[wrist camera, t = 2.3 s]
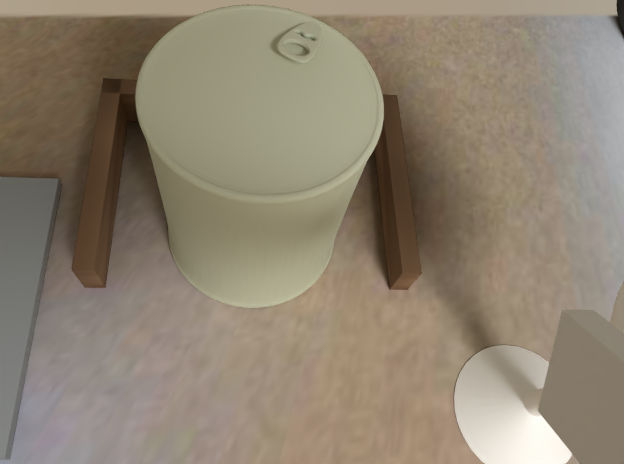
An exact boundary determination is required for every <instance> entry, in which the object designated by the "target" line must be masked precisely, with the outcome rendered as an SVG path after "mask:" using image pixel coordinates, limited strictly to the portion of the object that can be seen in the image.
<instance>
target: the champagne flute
mask: <svg viewBox="0 0 624 464" xmlns="http://www.w3.org/2000/svg"><path fill="white" fill-rule="evenodd" d="M611 324H612V325H613V326H615V327H616V328H617V329H619V330H620V331H621V332H623V333H624V282H623V284H622V286H621V288H620V290H619V292H618V294H617V298H616V301H615V304H614V308H613V312H612V317H611ZM548 366H549V363H548V362H547V361H546V360H544V359H543V358H542V357H540V356H539V355H537V354H535V353H533V352H531V351H529V350H527V349H524V348H521V347H518V346H510V345H499V346H492V347H489V348H486V349H483V350H482V351H480V352H478V353H477V354H475V355H474V356H473V357H472V358H471V359H470V360H468V361H467V362H466V364H465V365H464V367H463V369H462V370H461V372H460V374H459V377H458V379H457V382H456V387H455V393H454V407H455V414H456V418H457V423H458V425H459V428H460V430H461V433H462V435H463V437H464V439H465V440H466V442H467V444H468V445H469V447H470V449H471V450H472V451H473V452H474V453H475V454H476V456H477V457H478V458H479V459H480V460H481V461H482V462H484V463H485V464H566V463H567V461H568V460H569V459H570V457H571V455H572V453H571V452H570V450H569V449H568V448H567V447H566V445H565V444H564V443H563V442H562V440H561V439H560V438H559V437H558V435H557V434H556V433H555V432H554V430H553V429H552V428H551V427H550V425H549V424H548V423H547V422H546V421H545V419H544V418H543V417H542V416H541V414H540V413H539V412H538V407H539V403H540V399H541V395H542V391H543V387H544V383H545V379H546V375H547V370H548Z"/></svg>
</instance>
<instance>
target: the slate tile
mask: <svg viewBox="0 0 624 464" xmlns="http://www.w3.org/2000/svg"><path fill="white" fill-rule="evenodd" d="M61 186H62V184H61V182H60V180H59V179H54V178H24V177H0V460H6V459H10V456H11V450H12V445H13V440H14V435H15V429H16V424H17V419H18V413H19V408H20V403H21V398H22V392H23V387H24V382H25V376H26V371H27V366H28V360H29V355H30V350H31V345H32V339H33V334H34V329H35V323H36V318H37V313H38V307H39V302H40V297H41V292H42V286H43V281H44V276H45V270H46V265H47V260H48V255H49V249H50V244H51V239H52V233H53V228H54V223H55V217H56V212H57V207H58V202H59V196H60V191H61Z"/></svg>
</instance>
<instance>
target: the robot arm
mask: <svg viewBox="0 0 624 464" xmlns="http://www.w3.org/2000/svg"><path fill="white" fill-rule="evenodd" d="M617 13H618V18H619V21H620V24H621V27H622V29H623V31H624V0H617ZM538 412H539V413H540V414H541V416H542V417H543V418H544V419H545V421H546V422H547V423H548V424H549V425H550V427H551V428H552V429H553V430H554V432H555V433H556V434H557V435H558V437H559V438H560V439H561V440H562V442H563V443H564V444H565V445H566V447H567V448H568V449H569V450H570V452H571V453H572V454H573V455H574V456H575V458H576V459H577V460H578V461H579V463H580V464H624V333H623V332H621V331H620V330H619V329H617V328H616V327H615V326H613V325H612V324H611V323H609V322H608V321H607V320H605V319H604V318H603V317H602V316H600V315H599V314H598V313H596V312H595V311H594V310H562V313H561V317H560V321H559V326H558V330H557V334H556V338H555V342H554V346H553V350H552V354H551V358H550V362H549V366H548V370H547V375H546V379H545V383H544V387H543V391H542V395H541V399H540V403H539V407H538Z"/></svg>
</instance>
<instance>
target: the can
mask: <svg viewBox="0 0 624 464" xmlns="http://www.w3.org/2000/svg"><path fill="white" fill-rule="evenodd" d="M135 102H136V111H137V117H138V121H139V124H140V127H141V129H142V132H143V134H144V136H145V138H146V141H147V145H148V148H149V152H150V155H151V159H152V163H153V167H154V171H155V175H156V179H157V182H158V186H159V190H160V194H161V198H162V202H163V206H164V210H165V215H166V219H167V223H168V240H169V246H170V250H171V253H172V256H173V258H174V260H175V263H176V265H177V266H178V268H179V270H180V271H181V273H182V274H183V275H184V277H185V278H186V279H187V280H188V281H189V282H190V283H191V284H192V285H193V286H194V287H195V288H196V289H198V290H199V291H200V292H202V293H203V294H205V295H207V296H208V297H210V298H212V299H214V300H216V301H219V302H222V303H225V304H228V305H232V306H237V307H245V308H262V307H269V306H274V305H278V304H281V303H284V302H287V301H289V300H291V299H293V298H295V297H297V296H298V295H300V294H302V293H303V292H305V291H306V290H307V289H308V288H310V287H311V286H312V285H313V284H314V283H315V282H316V281H317V280H318V279H319V277H320V276H321V275H322V273H323V272H324V270H325V268H326V267H327V265H328V263H329V261H330V258H331V255H332V252H333V248H334V242H335V237H336V234H337V232H338V229H339V227H340V224H341V222H342V219H343V217H344V215H345V212H346V210H347V207H348V205H349V202H350V200H351V197H352V195H353V192H354V190H355V188H356V186H357V183H358V181H359V179H360V176H361V174H362V172H363V169H364V167H365V165H366V163H367V160H368V159H369V157H370V155H371V154H372V152H373V151H374V149H375V147H376V145H377V143H378V140H379V137H380V134H381V131H382V126H383V119H384V102H383V96H382V91H381V87H380V84H379V81H378V79H377V76H376V74H375V72H374V70H373V69H372V67H371V65H370V63H369V62H368V61H367V59H366V58H365V56H364V55H363V54H362V53H361V52H360V50H359V49H358V48H357V47H356V46H355V45H354V44H353V43H352V42H351V41H350V40H349V39H347V38H346V37H345V36H344V35H342V34H341V33H340V32H338V31H337V30H335V29H334V28H332V27H331V26H329V25H327V24H325V23H324V22H322V21H320V20H318V19H316V18H313V17H311V16H308V15H306V14H303V13H300V12H296V11H293V10H289V9H285V8H280V7H275V6H265V5H237V6H229V7H222V8H218V9H214V10H210V11H207V12H204V13H201V14H199V15H196V16H194V17H191V18H189V19H187V20H186V21H184V22H182V23H180V24H179V25H177V26H175V27H174V28H173V29H171V30H170V31H169V32H168V33H166V34H165V35H164V36H163V37H162V38H161V39H160V40H159V41H158V42H157V43H156V44H155V46H154V47H153V48H152V49H151V51H150V52H149V54H148V55H147V57H146V59H145V61H144V62H143V65H142V67H141V70H140V72H139V75H138V80H137V85H136V94H135Z"/></svg>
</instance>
